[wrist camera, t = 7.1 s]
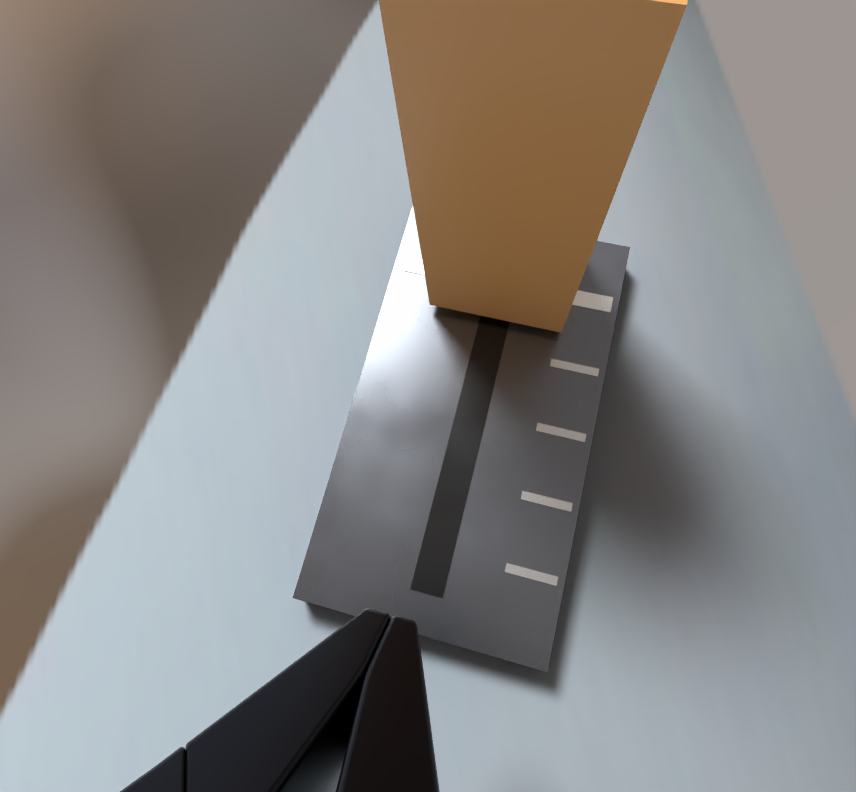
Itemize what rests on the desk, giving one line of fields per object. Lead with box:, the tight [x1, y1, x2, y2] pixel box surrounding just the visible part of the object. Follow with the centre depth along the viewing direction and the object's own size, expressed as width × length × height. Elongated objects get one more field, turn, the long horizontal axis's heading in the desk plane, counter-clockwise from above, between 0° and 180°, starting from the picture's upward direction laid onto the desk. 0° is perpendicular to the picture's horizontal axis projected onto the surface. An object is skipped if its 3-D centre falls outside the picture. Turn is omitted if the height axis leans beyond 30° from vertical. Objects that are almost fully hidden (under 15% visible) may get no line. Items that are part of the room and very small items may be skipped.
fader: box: [379, 0, 687, 332], centre depth 13 cm, size 3×4×11 cm
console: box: [293, 206, 630, 672], centre depth 18 cm, size 12×7×1 cm, turn 165°
